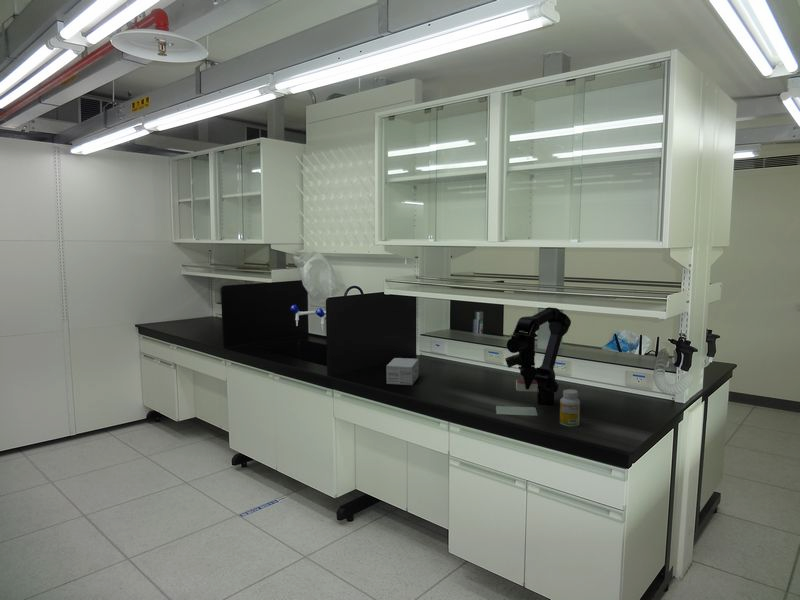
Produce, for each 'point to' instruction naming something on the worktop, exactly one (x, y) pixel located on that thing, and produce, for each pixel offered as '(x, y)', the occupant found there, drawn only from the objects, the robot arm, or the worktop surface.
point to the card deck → (521, 387)
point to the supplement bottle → (570, 408)
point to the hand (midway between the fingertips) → (526, 387)
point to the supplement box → (402, 371)
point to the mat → (516, 410)
